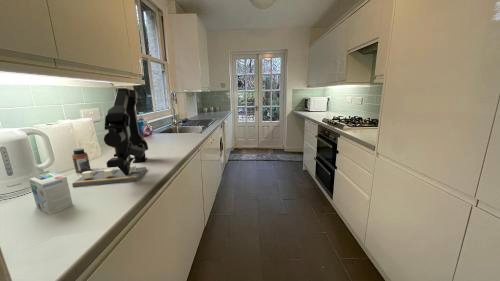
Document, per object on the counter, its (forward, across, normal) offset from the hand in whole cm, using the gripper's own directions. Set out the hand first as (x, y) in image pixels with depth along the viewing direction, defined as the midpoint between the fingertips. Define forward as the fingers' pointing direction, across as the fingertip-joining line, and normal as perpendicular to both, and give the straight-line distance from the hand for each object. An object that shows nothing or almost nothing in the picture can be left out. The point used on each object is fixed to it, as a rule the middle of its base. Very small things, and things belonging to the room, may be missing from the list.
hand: (127, 175), depth 90 cm
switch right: (+1, +3, +17) cm, 17 cm away
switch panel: (+3, +6, +8) cm, 11 cm away
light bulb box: (+3, -17, +18) cm, 25 cm away
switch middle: (+1, +3, +9) cm, 9 cm away
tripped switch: (+1, +6, 0) cm, 6 cm away
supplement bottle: (+3, +19, +28) cm, 33 cm away
